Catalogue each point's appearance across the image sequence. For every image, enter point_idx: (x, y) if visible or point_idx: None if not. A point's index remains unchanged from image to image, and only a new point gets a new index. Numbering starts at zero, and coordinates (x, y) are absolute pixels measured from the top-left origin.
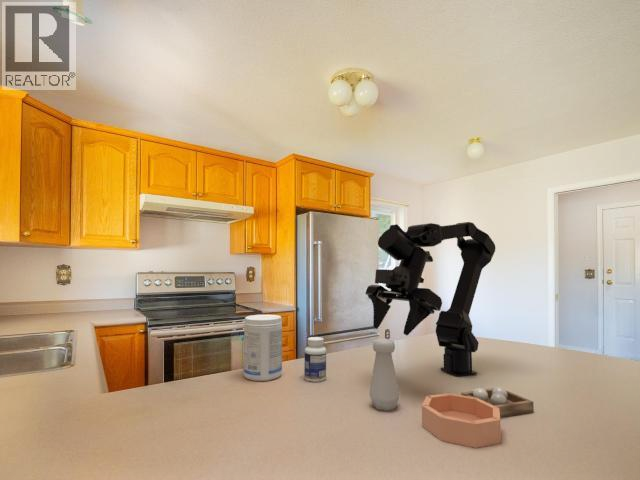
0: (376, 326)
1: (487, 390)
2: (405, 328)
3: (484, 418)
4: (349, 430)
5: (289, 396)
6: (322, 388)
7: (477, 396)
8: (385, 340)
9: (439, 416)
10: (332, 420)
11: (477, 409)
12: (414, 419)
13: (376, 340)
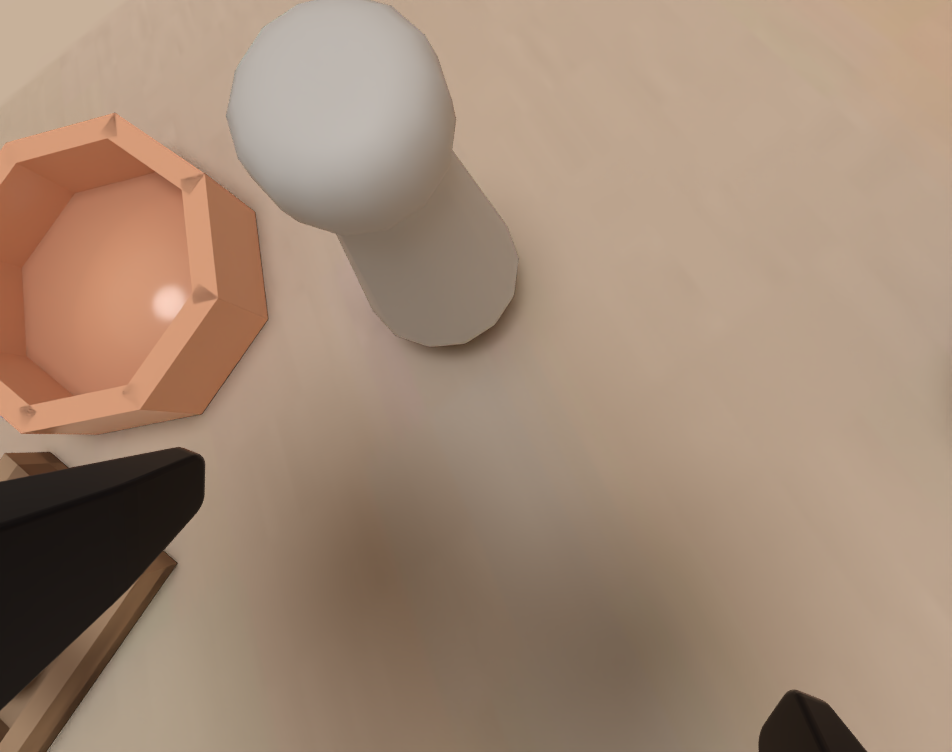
0: (779, 735)
1: (35, 700)
2: (125, 468)
3: (50, 378)
4: (461, 8)
5: (924, 77)
6: (865, 288)
7: None
8: (283, 46)
9: (120, 117)
10: (562, 25)
11: (55, 398)
12: (298, 251)
13: (379, 16)
